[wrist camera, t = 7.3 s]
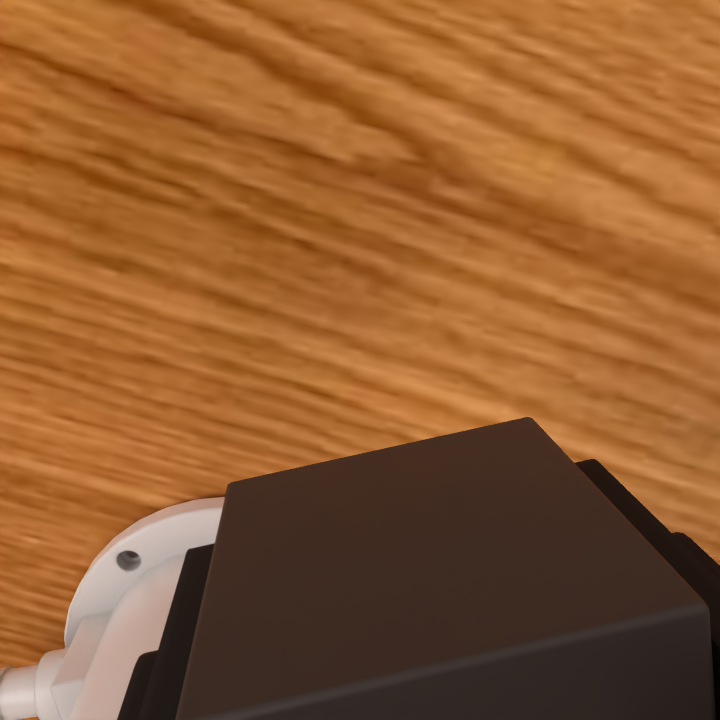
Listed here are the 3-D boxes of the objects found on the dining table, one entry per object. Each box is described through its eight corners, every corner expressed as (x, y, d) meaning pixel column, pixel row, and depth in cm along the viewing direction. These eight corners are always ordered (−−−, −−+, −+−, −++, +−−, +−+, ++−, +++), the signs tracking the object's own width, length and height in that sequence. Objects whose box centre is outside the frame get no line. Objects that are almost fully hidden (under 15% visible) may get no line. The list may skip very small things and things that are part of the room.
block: (296, 728, 11) (294, 1091, 6) (226, 481, 9) (167, 731, 5) (565, 666, 11) (734, 980, 7) (531, 414, 10) (713, 605, 5)
